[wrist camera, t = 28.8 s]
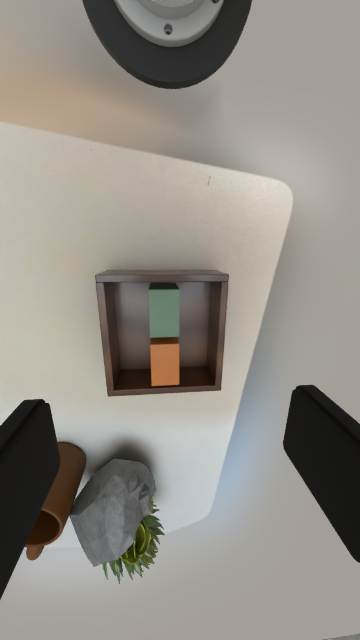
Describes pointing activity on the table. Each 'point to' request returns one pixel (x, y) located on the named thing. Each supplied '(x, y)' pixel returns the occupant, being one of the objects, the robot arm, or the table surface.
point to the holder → (134, 332)
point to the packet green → (164, 310)
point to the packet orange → (164, 361)
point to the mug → (57, 500)
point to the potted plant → (118, 517)
